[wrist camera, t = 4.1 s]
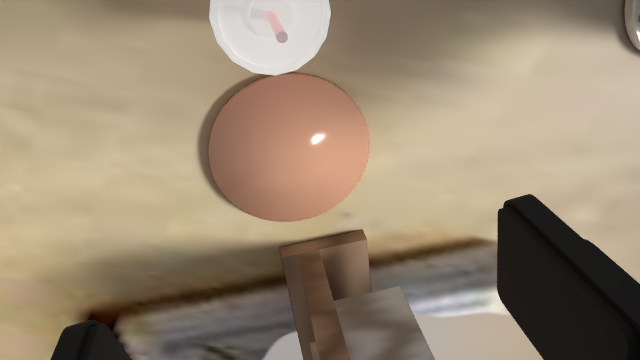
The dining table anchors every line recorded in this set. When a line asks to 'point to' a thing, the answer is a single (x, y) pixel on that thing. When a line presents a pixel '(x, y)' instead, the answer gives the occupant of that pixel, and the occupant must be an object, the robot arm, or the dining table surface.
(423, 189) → the dining table surface
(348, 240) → the mount stand
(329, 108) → the peach round disc
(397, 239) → the dining table surface
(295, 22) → the beverage cup
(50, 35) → the dining table surface
